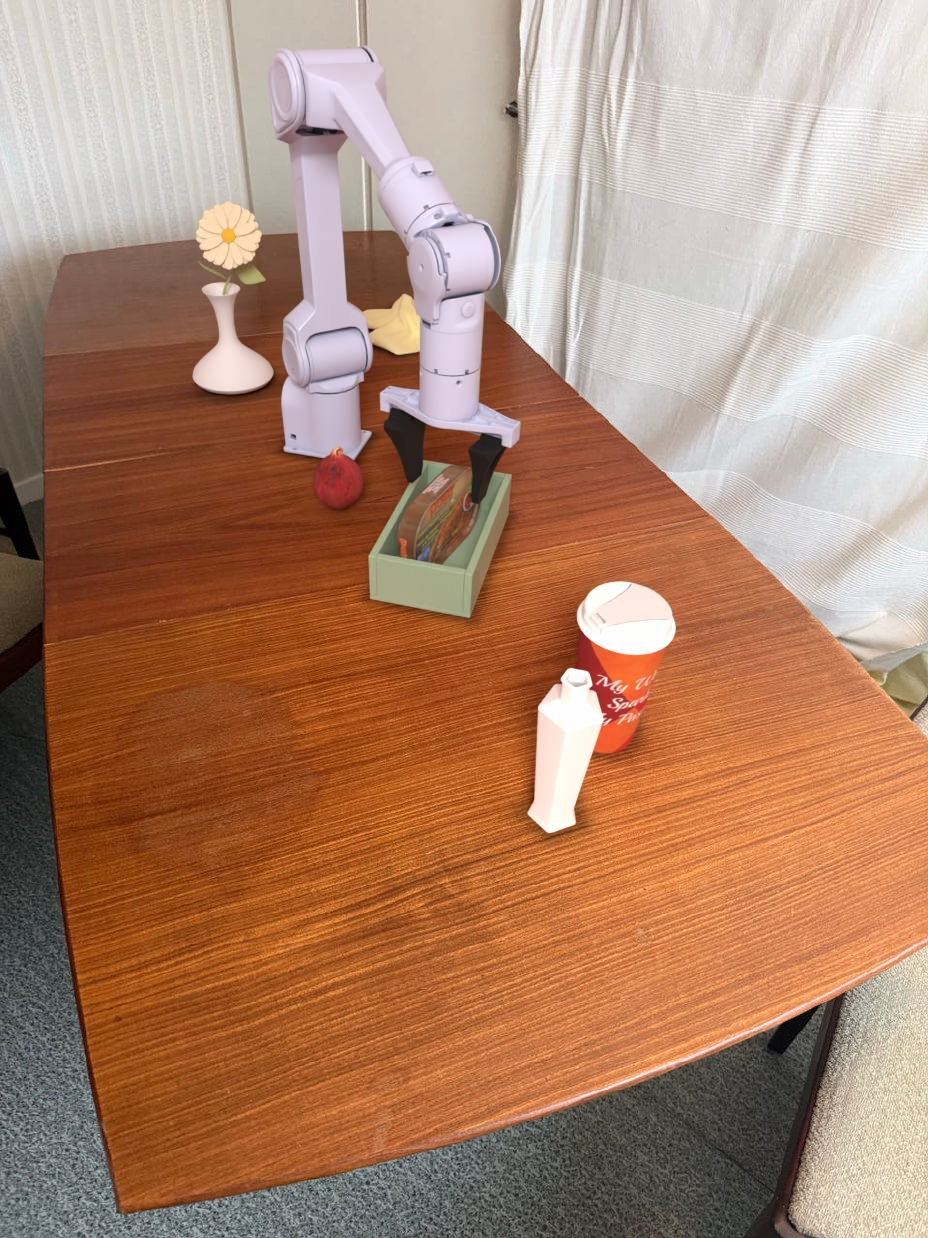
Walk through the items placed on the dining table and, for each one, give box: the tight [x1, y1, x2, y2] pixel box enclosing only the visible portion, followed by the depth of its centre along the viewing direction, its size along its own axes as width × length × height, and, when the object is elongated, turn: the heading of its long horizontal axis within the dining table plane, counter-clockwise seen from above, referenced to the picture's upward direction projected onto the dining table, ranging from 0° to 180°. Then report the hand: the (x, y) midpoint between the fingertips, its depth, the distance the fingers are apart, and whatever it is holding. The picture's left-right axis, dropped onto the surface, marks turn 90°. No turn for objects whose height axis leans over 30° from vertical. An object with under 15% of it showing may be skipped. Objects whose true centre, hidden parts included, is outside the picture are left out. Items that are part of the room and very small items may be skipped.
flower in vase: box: [191, 201, 275, 395], centre depth 113 cm, size 13×11×25 cm
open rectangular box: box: [367, 459, 513, 619], centre depth 90 cm, size 11×20×6 cm, turn 166°
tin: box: [397, 464, 481, 565], centre depth 89 cm, size 15×3×8 cm, turn 152°
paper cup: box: [574, 581, 677, 754], centre depth 69 cm, size 8×8×14 cm
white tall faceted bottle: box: [526, 667, 603, 834], centre depth 61 cm, size 5×4×15 cm
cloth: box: [362, 293, 420, 356], centre depth 137 cm, size 22×19×6 cm
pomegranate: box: [312, 446, 365, 511], centre depth 95 cm, size 6×6×8 cm
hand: (446, 488), depth 86 cm, fingers open, 7 cm apart
